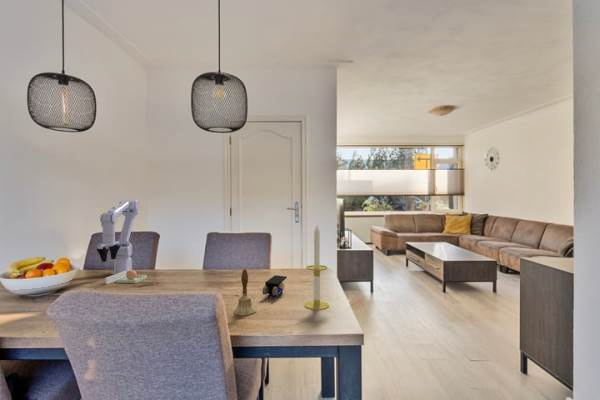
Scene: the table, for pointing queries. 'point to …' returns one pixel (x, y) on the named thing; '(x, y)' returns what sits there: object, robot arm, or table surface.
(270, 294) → the figurine character
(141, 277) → the tray
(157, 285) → the table surface
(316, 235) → the candle
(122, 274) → the wall
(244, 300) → the hand bell
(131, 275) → the ball
